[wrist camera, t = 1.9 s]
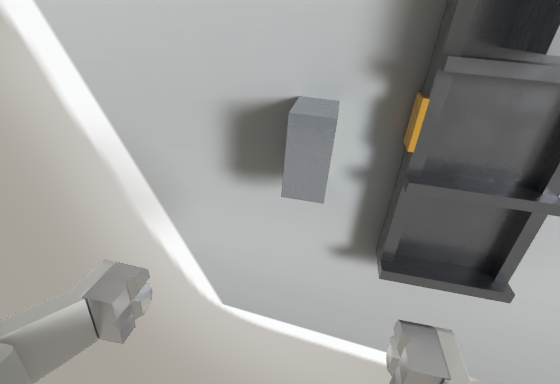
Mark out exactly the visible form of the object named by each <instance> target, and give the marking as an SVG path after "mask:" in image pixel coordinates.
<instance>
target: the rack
mask: <svg viewBox="0 0 560 384" xmlns="http://www.w3.org/2000/svg"><path fill="white" fill-rule="evenodd" d="M403 142H404V145H405V147H406V149H405V153H404V156H403V160H402V163H401V167H400V170H399V174H398V177H397V181H396V184H395V188H394V191H393V195H392V198H391V201H390V205H389V208H388V212H387V215H386V219H385V222H384V226H383V229H382V233H381V236H380V240H379V243H378V247H377V250H376V255H377V264H378V272H379V279H384V280H389V281H395V282H400V283H405V284H411V285H416V286H421V287H427V288H432V289H437V290H442V291H448V292H453V293H458V294H464V295H469V296H474V297H479V298H485V299H490V300H495V301H501V302H506V303H511V301H512V299H513V298H514V296H515V294H514V292H513V291H512V289H511V287H510V286H509V284H508V282H509V280H510V278H511V276H512V275H513V273H514V271H515V270H516V268H517V266H518V265H519V263H520V261H521V259H522V258H523V256H524V254H525V253H526V251H527V249H528V248H529V246H530V244H531V242H532V241H533V239H534V237H535V236H536V234H537V232H538V231H539V229H540V227H541V225H542V224H543V222H544V220H545V219H546V217H547V215H554V216H560V198H559V197H558V196H559V195H560V0H448V4H447V7H446V10H445V14H444V17H443V21H442V24H441V28H440V31H439V35H438V38H437V42H436V45H435V49H434V52H433V56H432V59H431V63H430V66H429V69H428V73H427V76H426V80H425V83H424V87H423V90H422V93H420V92H417V95H416V98H415V102H414V105H413V109H412V113H411V116H410V120H409V123H408V127H407V130H406V134H405V137H404V141H403Z"/></svg>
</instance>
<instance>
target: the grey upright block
mask: <svg viewBox="0 0 560 384" xmlns="http://www.w3.org/2000/svg"><path fill="white" fill-rule="evenodd" d="M339 102H340V101H335V100H327V99H318V98H310V97H301V96H299V98H298V99H297V101H296V102H295V104H294V105H293V107H292V108H291V110H290V111H289V115H288V126H287V137H286V149H285V160H284V171H283V182H282V194H281V197H286V198H292V199H298V200H305V201H311V202H317V203H324V197H325V191H326V185H327V179H328V173H329V167H330V161H331V155H332V149H333V143H334V137H335V131H336V125H337V119H338V110H339Z"/></svg>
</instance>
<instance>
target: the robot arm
mask: <svg viewBox="0 0 560 384" xmlns="http://www.w3.org/2000/svg"><path fill="white" fill-rule="evenodd" d="M149 278H150V276H149V271H148V270H147V269H145V268H140V267H136V266H132V265H127V264H123V263H119V262H113V261H109V260H103V261H101V262H99V263H98V264H97V265H96V266H95V267H94V268H93V269H92V270H91V271H90V272H89V273H88V274H87V275H86V276H84V277H83V278H82V279H81V280H80V281H79V282H78V283H77V284H76V285H75V286H74V287H73V288H72V289H71V290H70V291H69V292H68V293H66V294H59V295H57V296H54V297H52V298H50V299H48V300H45V301H43V302H40V303H38V304H36V305H33V306H31V307H28V308H26V309H24V310H21V311H19V312H17V313H15V314H12V315H10V316H7V317H5V318H3V319H0V384H34V383H35V382H37V381H38V380H40V379H41V378H42V377H44V376H45V375H47V374H49V373H50V372H52V371H53V370H55V369H56V368H57V367H59V366H61V365H62V364H63V363H65V362H67V361H68V360H69V359H71V358H73V357H74V356H76V355H77V354H79V353H80V352H82V351H83V350H85V349H86V348H88V347H89V346H91V345H92V344H94V343H95V342H96V341H98V339H102V340H106V341H111V342H116V343H121V344H123V343H124V342H125V340H126V339H127V337H128V336H129V335H130V333H131V332H132V331H133V329H134V328H135V319H137V318H139V317H141V316H143V315H144V313H145V312H146V311H147V309H148V307H149V305H150V302H151V300H152V287H151V286H150V285H149V284H148V283H147V280H148V279H149ZM394 333H395V335H394V336H392V337H390V340H389V343H388V347H387V370H388V371H389V373H390V374H391V376H392V379H391V381H390V384H471V381H470V378H469V375H468V372H467V369H466V366H465V363H464V360H463V358H462V355H461V352H460V349H459V346H458V343H457V340H456V337H455V334H454V333H453V332H452V330H448V329H443V328H438V327H432V326H428V325H423V324H418V323H413V322H407V321H402V320H398V321H397V322H396V324H395V326H394Z"/></svg>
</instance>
